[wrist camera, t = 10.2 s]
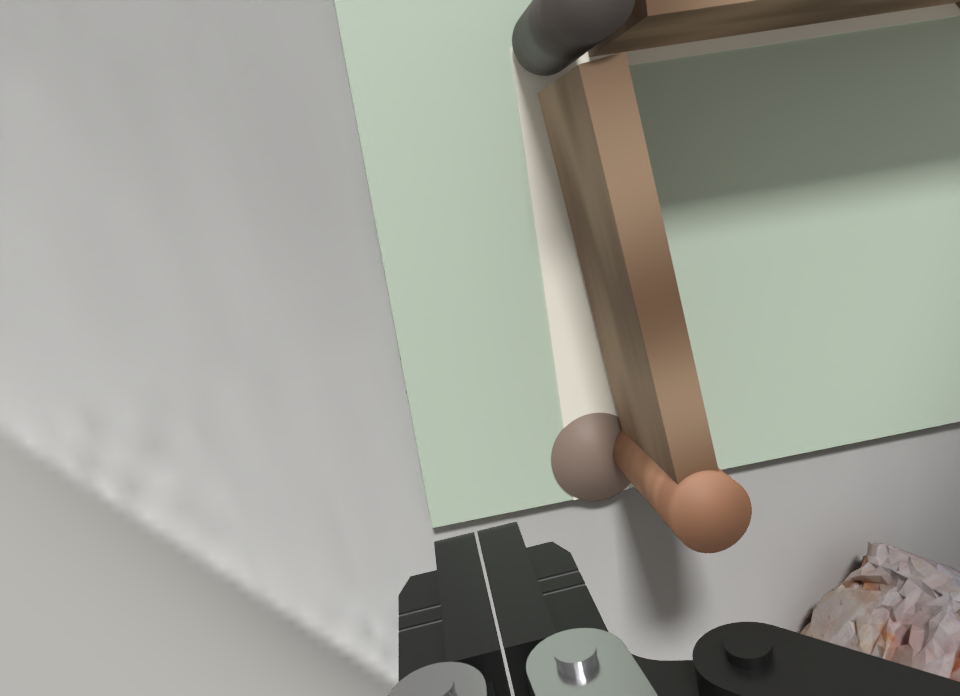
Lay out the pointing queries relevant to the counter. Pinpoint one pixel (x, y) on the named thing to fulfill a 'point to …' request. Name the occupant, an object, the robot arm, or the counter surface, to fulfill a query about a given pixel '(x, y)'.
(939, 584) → the food item
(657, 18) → the fixed fence section
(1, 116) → the counter surface
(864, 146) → the card
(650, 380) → the hinged fence panel
